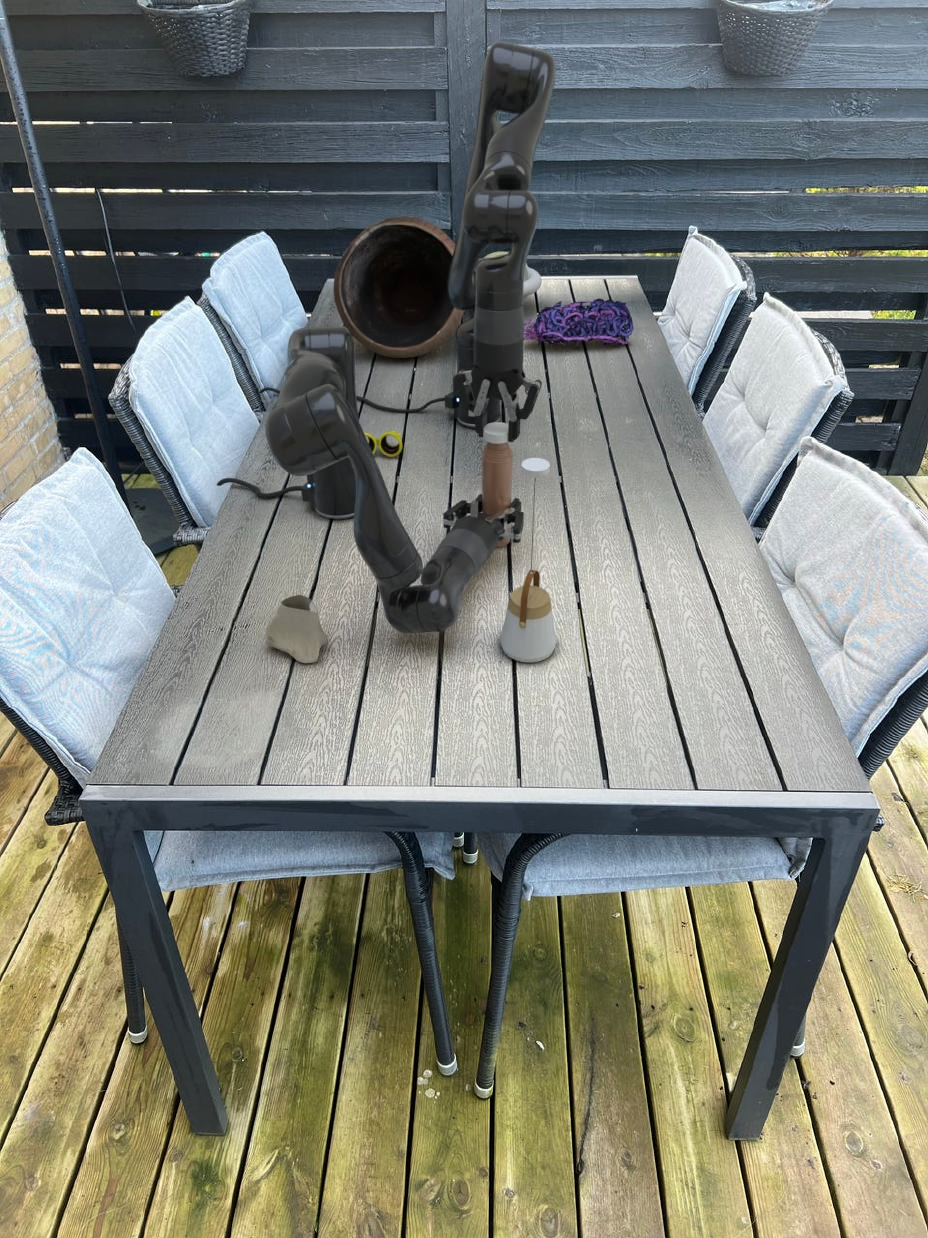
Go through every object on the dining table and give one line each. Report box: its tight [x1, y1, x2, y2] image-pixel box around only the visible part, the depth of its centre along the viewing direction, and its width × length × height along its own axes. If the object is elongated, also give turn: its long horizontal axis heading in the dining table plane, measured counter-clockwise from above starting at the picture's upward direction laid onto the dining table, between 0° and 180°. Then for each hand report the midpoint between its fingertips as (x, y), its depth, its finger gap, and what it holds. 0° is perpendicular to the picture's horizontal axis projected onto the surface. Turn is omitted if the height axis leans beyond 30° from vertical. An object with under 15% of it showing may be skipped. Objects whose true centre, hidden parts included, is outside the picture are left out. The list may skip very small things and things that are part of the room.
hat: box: [483, 251, 543, 302], centre depth 248 cm, size 25×22×15 cm
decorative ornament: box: [524, 298, 634, 347], centre depth 229 cm, size 13×11×30 cm
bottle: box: [481, 441, 513, 548], centre depth 155 cm, size 5×5×20 cm
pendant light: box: [499, 457, 557, 663], centre depth 128 cm, size 8×8×30 cm
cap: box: [483, 421, 509, 444], centre depth 149 cm, size 5×5×2 cm
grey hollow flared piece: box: [265, 594, 328, 664], centre depth 135 cm, size 9×8×10 cm
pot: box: [333, 215, 466, 359], centre depth 229 cm, size 32×32×30 cm
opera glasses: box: [364, 430, 403, 458], centre depth 185 cm, size 10×5×5 cm, turn 95°
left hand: (501, 499), depth 159 cm, fingers closed on bottle, 5 cm apart
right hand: (497, 437), depth 149 cm, fingers closed on cap, 4 cm apart
